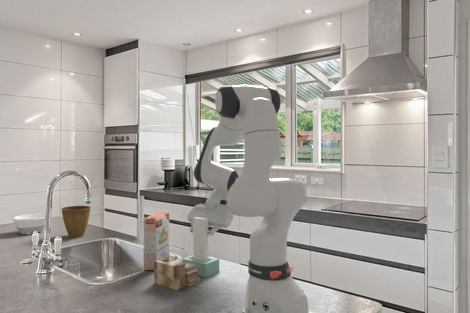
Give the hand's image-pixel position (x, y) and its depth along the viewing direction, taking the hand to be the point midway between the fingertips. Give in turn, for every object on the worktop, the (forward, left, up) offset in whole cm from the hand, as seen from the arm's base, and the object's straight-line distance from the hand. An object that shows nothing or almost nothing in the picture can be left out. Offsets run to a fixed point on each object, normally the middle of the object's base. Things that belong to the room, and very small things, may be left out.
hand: (200, 233), depth 144 cm
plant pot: (+92, +28, -15) cm, 98 cm away
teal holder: (0, 0, -15) cm, 15 cm away
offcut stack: (-4, +11, -15) cm, 19 cm away
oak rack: (-6, +15, -15) cm, 22 cm away
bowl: (+118, +48, -15) cm, 129 cm away
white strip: (0, 0, -14) cm, 14 cm away
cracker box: (+17, +11, -15) cm, 26 cm away
